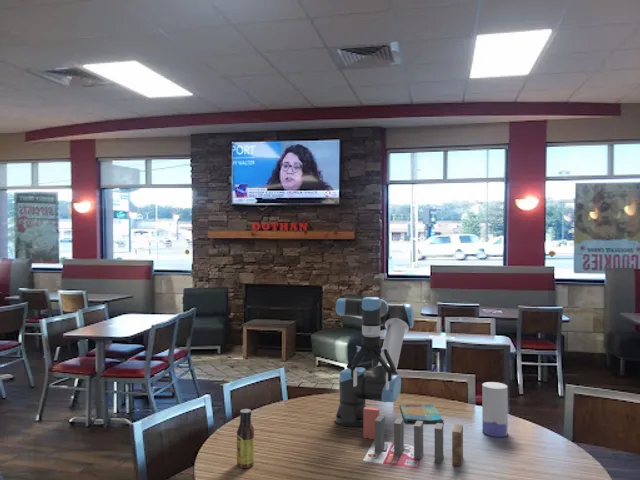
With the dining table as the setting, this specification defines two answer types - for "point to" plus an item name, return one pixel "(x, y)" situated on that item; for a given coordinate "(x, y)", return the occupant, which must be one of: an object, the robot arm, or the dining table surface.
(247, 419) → the sauce bottle
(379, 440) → the domino
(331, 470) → the dining table surface
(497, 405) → the container
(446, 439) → the dining table surface
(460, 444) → the end stop
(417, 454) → the domino
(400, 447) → the domino
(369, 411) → the red domino
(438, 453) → the domino
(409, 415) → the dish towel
